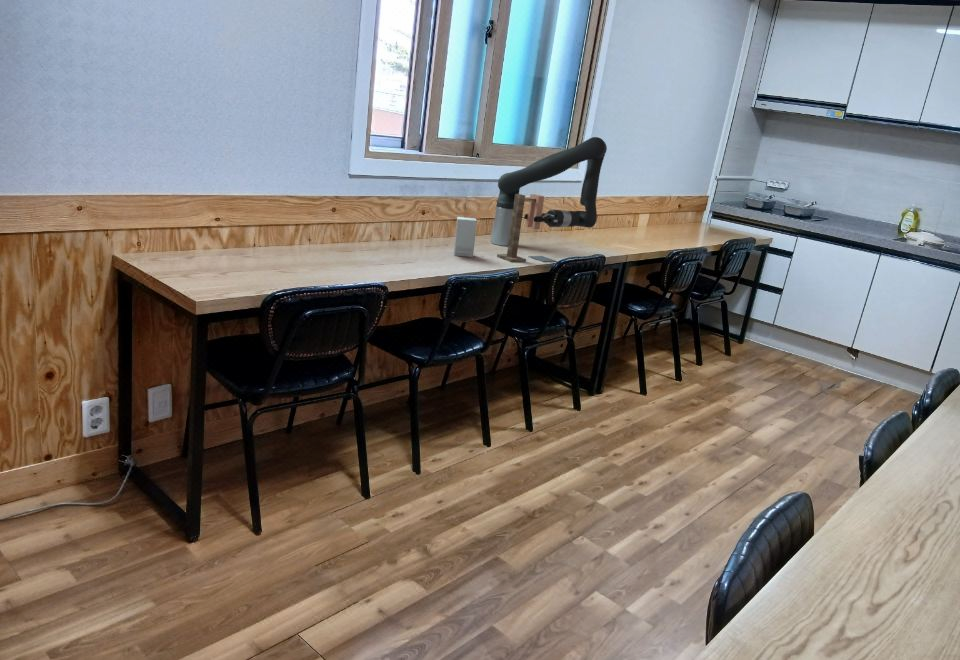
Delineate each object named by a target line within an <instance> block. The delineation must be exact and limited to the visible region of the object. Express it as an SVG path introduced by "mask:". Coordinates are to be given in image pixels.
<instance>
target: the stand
mask: <svg viewBox="0 0 960 660" xmlns="http://www.w3.org/2000/svg"><path fill="white" fill-rule="evenodd" d="M525 202H536V199H533V198H530V197H528V198H527V197H526V194H522V193H519V194H515V200H514V207H513V214H512V221H511V229H510V236H509V243H508V246H507V252H506V253H496V258H499V259H502V260H505V261H507V262H509V263H521V262H522V263H527V258H525V257H521V256H519V255H518V249H519V242H520V236H521V228H522V222H523V215H524V208H525Z"/></svg>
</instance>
